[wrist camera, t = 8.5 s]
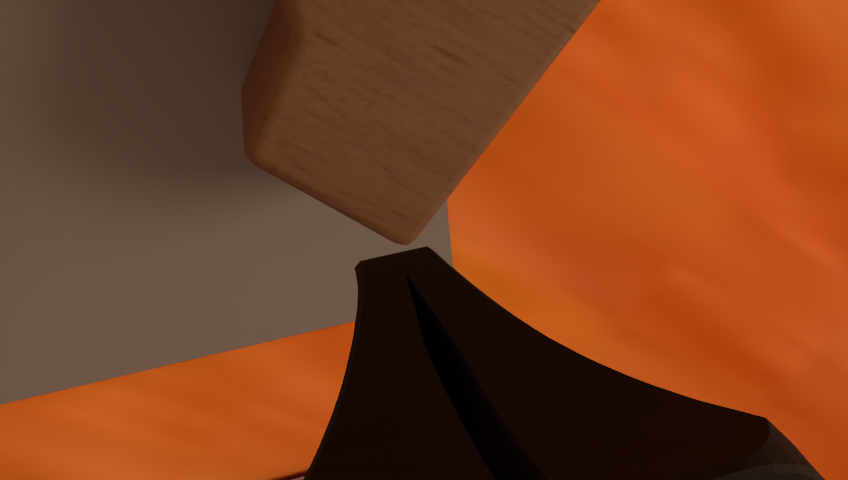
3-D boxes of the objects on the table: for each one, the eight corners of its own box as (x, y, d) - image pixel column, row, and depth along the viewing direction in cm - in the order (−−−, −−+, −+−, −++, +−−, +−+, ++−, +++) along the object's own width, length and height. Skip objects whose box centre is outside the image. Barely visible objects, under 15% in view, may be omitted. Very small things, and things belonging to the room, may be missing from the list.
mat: (-81, 413, 21) (-87, 425, 21) (-429, -83, 14) (-448, -80, 13) (451, 288, 24) (455, 297, 24) (407, -184, 16) (412, -184, 16)
